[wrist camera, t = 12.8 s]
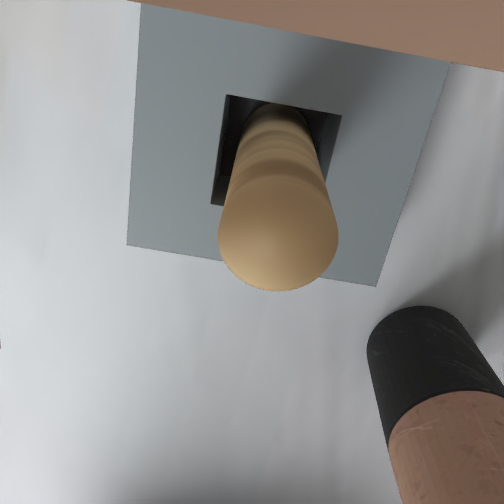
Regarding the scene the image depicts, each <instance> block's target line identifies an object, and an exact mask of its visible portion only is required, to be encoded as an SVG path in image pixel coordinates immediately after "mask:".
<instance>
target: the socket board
mask: <svg viewBox="0 0 504 504" xmlns="http://www.w3.org/2000/svg"><path fill="white" fill-rule="evenodd" d="M450 64H451V62H448V61H443V60H438V59H433V58H427V57H422V56H417V55H412V54H406V53H401V52H396V51H391V50H385V49H380V48H375V47H370V46H364V45H359V44H354V43H349V42H343V41H338V40H333V39H328V38H323V37H317V36H312V35H307V34H302V33H296V32H291V31H286V30H281V29H275V28H270V27H265V26H260V25H254V24H249V23H244V22H239V21H233V20H228V19H223V18H218V17H212V16H207V15H202V14H197V13H191V12H186V11H181V10H176V9H170V8H165V7H160V6H155V5H150V4H144V3H141V14H140V30H139V47H138V64H137V80H136V97H135V114H134V130H133V147H132V164H131V180H130V197H129V214H128V230H127V245H129V246H135V247H141V248H147V249H153V250H159V251H165V252H171V253H177V254H183V255H189V256H195V257H201V258H207V259H213V260H219V261H224V260H223V258H222V256H221V253H220V250H219V245H218V228H219V224H220V220H221V216H222V212H223V208H224V203H225V199H226V195H227V191H228V187H229V183H230V179H231V177H229V176H223V175H219V173H220V167H221V160H222V153H223V146H224V139H225V132H226V125H227V119H228V112H229V105H230V98H231V95H234V96H240V97H245V98H251V99H256V100H262V101H267V102H272V103H278V104H283V105H289V106H294V107H300V108H305V109H311V110H316V111H322V112H327V115H326V120H325V124H324V128H323V132H322V137H321V141H320V145H319V149H318V153H317V158H318V161H319V165H320V168H321V171H322V175H323V178H324V181H325V185H326V188H327V191H328V195H329V198H330V202H331V205H332V208H333V212H334V215H335V218H336V222H337V226H338V234H339V239H338V246H337V251H336V253H335V256H334V258H333V260H332V262H331V264H330V265H329V266H328V268H327V269H326V270H325V271H324V272H323V273H322V274H321V275H320V276H319V277H321V278H327V279H333V280H339V281H345V282H351V283H357V284H363V285H369V286H375V287H376V285H377V282H378V279H379V276H380V273H381V270H382V267H383V264H384V261H385V258H386V255H387V252H388V249H389V246H390V243H391V240H392V237H393V234H394V231H395V228H396V225H397V222H398V219H399V216H400V213H401V210H402V207H403V204H404V201H405V198H406V195H407V193H408V190H409V187H410V184H411V181H412V178H413V175H414V172H415V169H416V166H417V163H418V160H419V157H420V154H421V151H422V148H423V145H424V142H425V139H426V136H427V133H428V130H429V127H430V124H431V121H432V118H433V115H434V112H435V109H436V106H437V103H438V100H439V97H440V94H441V91H442V88H443V85H444V82H445V79H446V76H447V73H448V70H449V67H450Z"/></svg>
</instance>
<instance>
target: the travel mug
mask: <svg viewBox="0 0 504 504" xmlns="http://www.w3.org/2000/svg"><path fill="white" fill-rule="evenodd" d="M367 358H368V364H369V369H370V374H371V378H372V383H373V387H374V391H375V396H376V400H377V404H378V409H379V413H380V418H381V422H382V426H383V431H384V435H385V439H386V444H387V448H388V452H389V456H390V460H391V464H392V467H393V471H394V474H395V478H396V481H397V485H398V489H399V492H400V496H401V499H402V503H403V504H504V385H503V384H502V383H501V381H500V380H499V378H498V377H497V375H496V374H495V372H494V371H493V369H492V368H491V366H490V365H489V363H488V362H487V360H486V359H485V357H484V356H483V354H482V353H481V352H480V350H479V349H478V347H477V346H476V344H475V343H474V341H473V340H472V338H471V337H470V335H469V334H468V332H467V331H466V330H465V328H464V327H463V326H462V324H461V323H460V322H459V321H458V320H457V319H456V318H455V317H454V316H453V315H451V314H449V313H448V312H446V311H444V310H441V309H438V308H434V307H428V306H416V307H410V308H406V309H402V310H399V311H397V312H395V313H393V314H391V315H389V316H388V317H386V318H385V319H383V320H382V321H381V322H380V323H379V324H378V325H377V326H376V327H375V329H374V330H373V331H372V333H371V335H370V337H369V340H368V344H367Z"/></svg>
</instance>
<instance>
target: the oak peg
mask: <svg viewBox="0 0 504 504" xmlns="http://www.w3.org/2000/svg"><path fill="white" fill-rule="evenodd" d="M338 239H339V234H338V226H337V222H336V218H335V215H334V212H333V208H332V205H331V202H330V198H329V195H328V191H327V188H326V185H325V181H324V178H323V175H322V171H321V168H320V165H319V161H318V158H317V155H316V151H315V148H314V144H313V141H312V138H311V134H310V131H309V128H308V125H307V122H306V120H305V118H304V117H303V116H302V114H301V113H300V112H299V111H298V110H296V109H295V108H293V107H292V106H289V105H283V104H278V103H268V104H265V105H262V106H260V107H259V108H257V109H255V110H254V111H253V112H252V113H251V114H250V115H249V117H248V118H247V119H246V121H245V123H244V126H243V129H242V134H241V138H240V142H239V146H238V150H237V154H236V158H235V162H234V166H233V171H232V175H231V179H230V183H229V187H228V191H227V195H226V199H225V203H224V208H223V212H222V216H221V220H220V224H219V228H218V245H219V250H220V253H221V256H222V258H223V260H224V262H225V264H226V265H227V266H228V268H229V269H230V270H231V271H232V272H233V274H234V275H236V276H237V277H238V278H239V279H241V280H242V281H244V282H245V283H247V284H249V285H251V286H253V287H256V288H259V289H263V290H269V291H287V290H292V289H297V288H299V287H302V286H305V285H307V284H309V283H311V282H312V281H314V280H315V279H317V278H318V277H319V276H320V275H321V274H322V273H323V272H324V271H325V270H326V269H327V268H328V266H329V265H330V264H331V262H332V260H333V258H334V256H335V253H336V251H337V246H338Z"/></svg>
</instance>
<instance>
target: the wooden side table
mask: <svg viewBox="0 0 504 504" xmlns="http://www.w3.org/2000/svg"><path fill="white" fill-rule="evenodd" d="M129 1H134V2H139V3H144V4H150V5H155V6H160V7H165V8H170V9H176V10H181V11H186V12H191V13H197V14H202V15H207V16H212V17H218V18H223V19H228V20H233V21H239V22H244V23H249V24H254V25H260V26H265V27H270V28H275V29H281V30H286V31H291V32H296V33H302V34H307V35H312V36H317V37H323V38H328V39H333V40H338V41H343V42H349V43H354V44H359V45H364V46H370V47H375V48H380V49H385V50H391V51H396V52H401V53H406V54H412V55H417V56H422V57H427V58H433V59H438V60H443V61H448V62H454V63H459V64H464V65H469V66H475V67H480V68H485V69H490V70H496V71H501V72H504V0H129Z"/></svg>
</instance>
